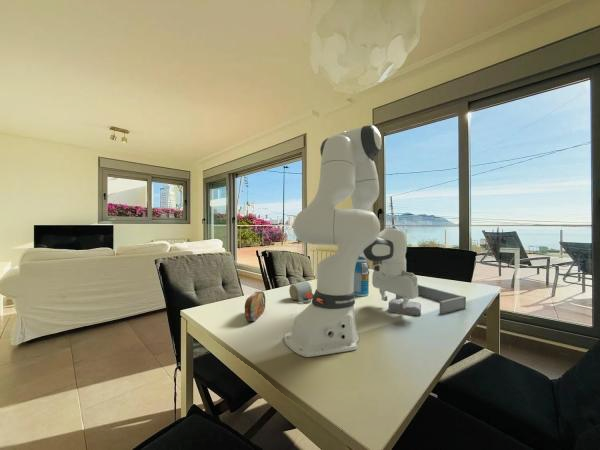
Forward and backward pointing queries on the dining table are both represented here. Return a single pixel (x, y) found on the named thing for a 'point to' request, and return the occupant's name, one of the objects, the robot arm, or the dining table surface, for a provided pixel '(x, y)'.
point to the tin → (254, 306)
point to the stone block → (411, 308)
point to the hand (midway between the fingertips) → (393, 303)
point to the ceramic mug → (300, 291)
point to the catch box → (442, 299)
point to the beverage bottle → (361, 278)
